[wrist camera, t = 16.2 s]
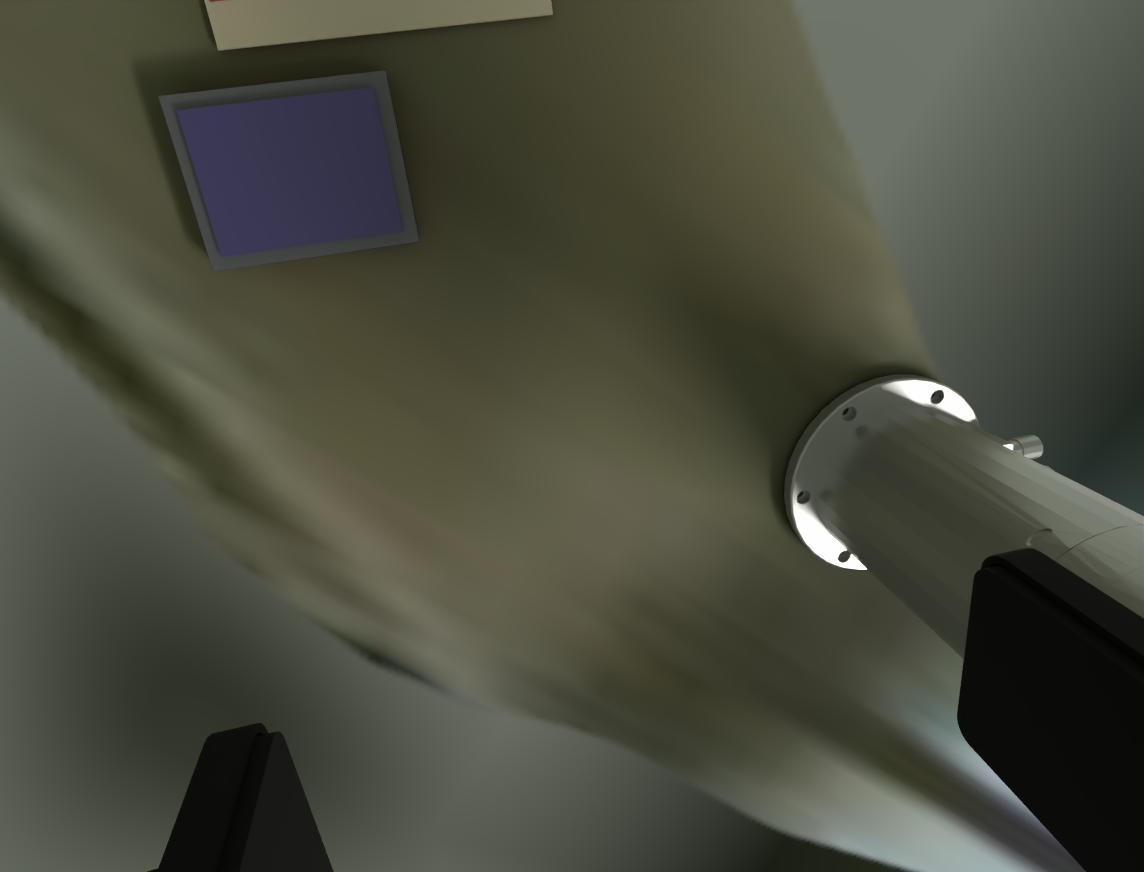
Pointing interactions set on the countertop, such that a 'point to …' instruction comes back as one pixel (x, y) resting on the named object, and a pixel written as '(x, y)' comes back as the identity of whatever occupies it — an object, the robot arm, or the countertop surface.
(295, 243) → the ink pad
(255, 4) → the card sheet
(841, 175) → the countertop surface
